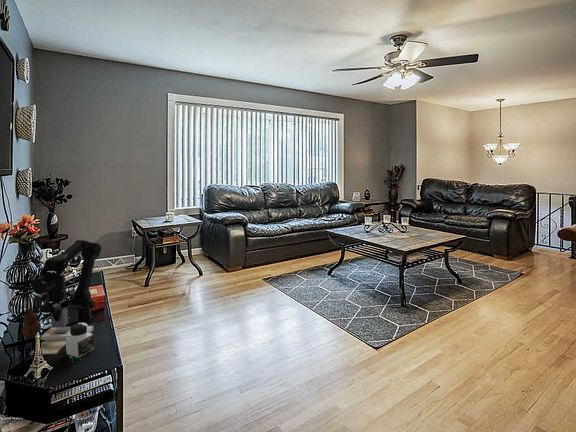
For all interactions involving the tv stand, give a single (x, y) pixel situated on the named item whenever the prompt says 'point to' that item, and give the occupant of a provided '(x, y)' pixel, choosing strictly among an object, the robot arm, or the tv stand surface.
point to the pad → (51, 347)
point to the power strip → (52, 335)
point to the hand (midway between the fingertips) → (59, 319)
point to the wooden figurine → (30, 325)
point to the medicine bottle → (79, 340)
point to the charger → (60, 319)
